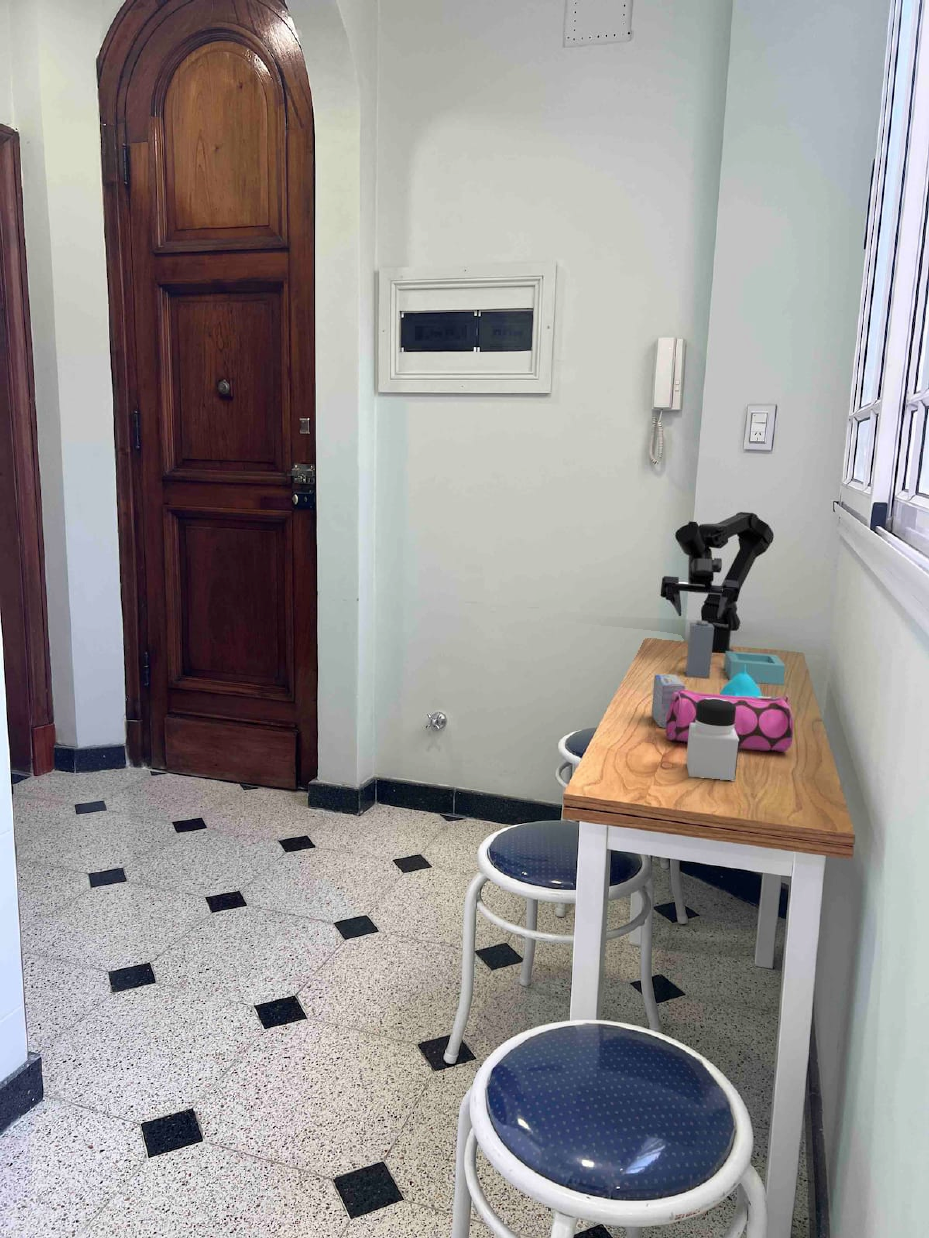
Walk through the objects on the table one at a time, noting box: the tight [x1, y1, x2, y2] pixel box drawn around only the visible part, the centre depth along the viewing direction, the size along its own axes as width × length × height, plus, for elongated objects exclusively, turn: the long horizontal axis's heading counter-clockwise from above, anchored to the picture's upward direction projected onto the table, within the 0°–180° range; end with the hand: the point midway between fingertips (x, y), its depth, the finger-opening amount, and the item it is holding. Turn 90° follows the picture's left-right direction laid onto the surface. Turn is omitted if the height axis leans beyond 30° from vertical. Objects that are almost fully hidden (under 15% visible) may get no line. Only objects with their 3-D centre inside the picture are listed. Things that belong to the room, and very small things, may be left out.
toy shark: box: [719, 665, 763, 698], centre depth 175 cm, size 10×18×11 cm, turn 172°
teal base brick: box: [723, 650, 786, 686], centre depth 210 cm, size 12×12×4 cm
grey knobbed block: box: [685, 619, 714, 679], centre depth 208 cm, size 5×5×13 cm
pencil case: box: [665, 689, 794, 753], centre depth 157 cm, size 21×10×10 cm, turn 84°
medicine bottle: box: [685, 698, 740, 782], centre depth 142 cm, size 7×7×12 cm
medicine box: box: [651, 673, 686, 729], centre depth 169 cm, size 8×4×9 cm, turn 179°
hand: (699, 616), depth 214 cm, fingers open, 9 cm apart
